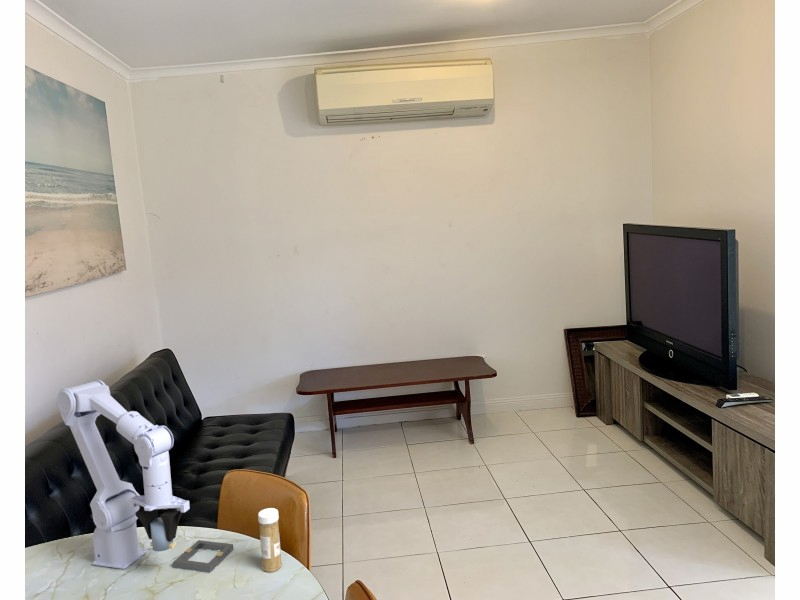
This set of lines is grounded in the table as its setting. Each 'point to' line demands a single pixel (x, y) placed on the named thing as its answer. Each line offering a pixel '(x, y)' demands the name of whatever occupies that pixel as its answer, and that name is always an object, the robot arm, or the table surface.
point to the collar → (201, 566)
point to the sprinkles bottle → (270, 539)
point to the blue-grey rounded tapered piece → (159, 536)
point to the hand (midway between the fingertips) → (162, 538)
